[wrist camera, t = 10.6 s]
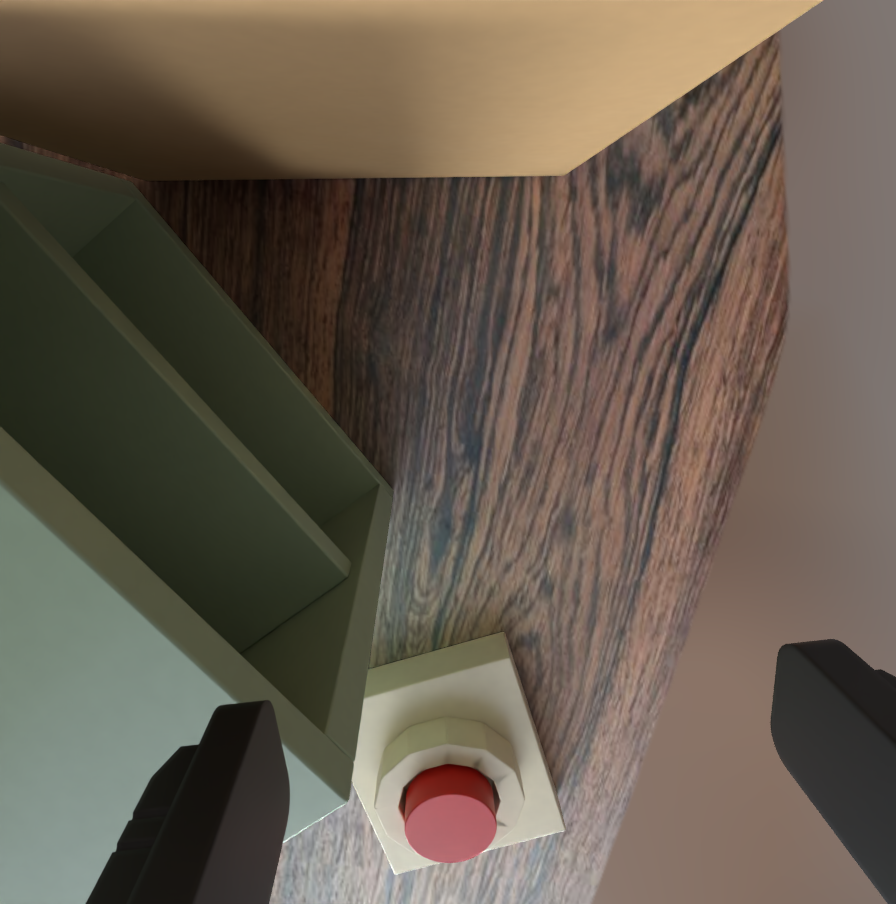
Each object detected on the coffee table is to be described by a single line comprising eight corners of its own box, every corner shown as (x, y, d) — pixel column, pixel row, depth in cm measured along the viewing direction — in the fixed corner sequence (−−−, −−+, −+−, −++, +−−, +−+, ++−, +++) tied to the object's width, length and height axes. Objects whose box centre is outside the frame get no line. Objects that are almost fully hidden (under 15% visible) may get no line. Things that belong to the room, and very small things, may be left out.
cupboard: (131, 180, 23) (-548, -24, 7) (394, 490, 28) (350, 802, 12) (-80, 374, 25) (-986, 563, 9) (197, 634, 30) (-77, 1072, 14)
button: (479, 752, 28) (482, 783, 26) (503, 817, 29) (507, 850, 28) (393, 776, 28) (391, 807, 27) (421, 838, 30) (420, 873, 28)
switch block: (504, 630, 30) (515, 682, 26) (557, 796, 34) (574, 862, 30) (325, 680, 31) (311, 738, 27) (396, 838, 34) (392, 909, 31)
